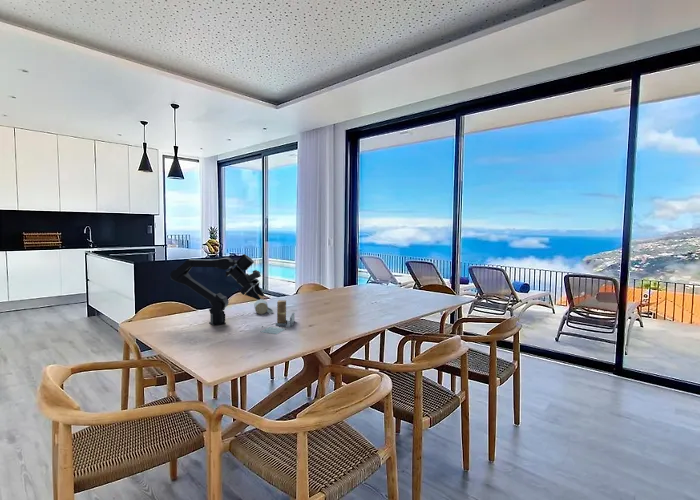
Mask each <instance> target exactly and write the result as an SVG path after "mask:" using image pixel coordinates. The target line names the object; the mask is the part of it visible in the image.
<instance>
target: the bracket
mask: <svg viewBox="0 0 700 500" xmlns="http://www.w3.org/2000/svg"><path fill="white" fill-rule="evenodd" d="M295 316H296V314H295V312H292V313H291V315H290V317H289V320H288V319H286V323H277V322H275V326H276V327H278V328H292V327H293V326H294V323H295Z"/></svg>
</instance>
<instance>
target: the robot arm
mask: <svg viewBox="0 0 700 500" xmlns="http://www.w3.org/2000/svg"><path fill="white" fill-rule="evenodd" d="M254 263H255V262H254V260H253V259H252V257H250V256H248V254H247V255H246V254H245V253H243V254H241V257H240V258H239V259H237V260H236V259H232V258H231V257H223V258H217V259H194V258H190V259H186V260H185V261H184V262H183V263H182V264H181V265H179V266H178V267H177V268H176V269H173V270H171V272H170V280H172V281H173V282H176V283H178V284H181V285H185V286H186V287H188V288H189V289H191V290H192V291H194V292H195V293H196V294H199V295H200V296H201V297H203V298H204V299H206V300H207V301H209V304H210V306H211V307H210V308H209V310H208V311H209V314H210V315H209V316H210V321H209V322H208V323H209V324H211V325H212V326H219V325H225V324H227V322H226V313H225V309H226V308H227V307H228V305H229V300H228V298H227V296H226V295H224V294H222V293H221V292H219V293H214V292H213V291H211V290H210V289H208V288H207V287H206V286H204V285H203V284H202V283H200V282H199V281H197V280H195V279H194V278H193V277H192V276H191V274H190V273H189V272H190V271H191V270H192V268H216V269H218V270H223V271H224V270H226V271H225V277H226V278H227V277H230V276H231V277H232V278H233V279H234V280H235V281H236V284H237V285H240V286H241V287H242V288H241V289H240V293H241V294H242V295H243V296H247V297H250V298H253V299H255V300H260V299H261V297H264V296H265V294H264V292H263V291H262V289H261V287H260V279H258V278H260V277H261V276H262V274H261V272H260V271H259V270H257V269H255V270H252V272H251V273H250V274H248V273H245V272H244V271H247V270H248V269H250V267H251V266H253V264H254ZM234 266H235V267H234ZM260 296H261V297H260Z"/></svg>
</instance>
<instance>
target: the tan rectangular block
mask: <svg viewBox="0 0 700 500" xmlns="http://www.w3.org/2000/svg"><path fill="white" fill-rule="evenodd" d="M276 304H277V307H276V308H277V309H276V315H277V316H276V323H286V320H287V300H285V299H284V300H283V299H282V300H280V299H279V300H277V303H276Z"/></svg>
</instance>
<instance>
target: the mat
mask: <svg viewBox="0 0 700 500" xmlns="http://www.w3.org/2000/svg"><path fill="white" fill-rule="evenodd" d="M285 330H286V328H282V327H274V326H273V327H272V326H269V327H266V328H265V329H262V330H260V333H265V334H272V335H277V334H279V333H282V332H284V331H285Z"/></svg>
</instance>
